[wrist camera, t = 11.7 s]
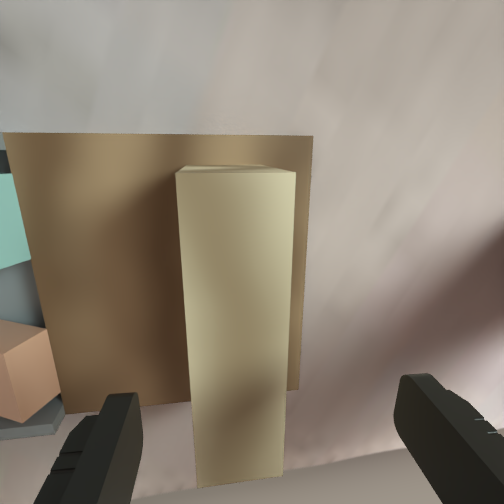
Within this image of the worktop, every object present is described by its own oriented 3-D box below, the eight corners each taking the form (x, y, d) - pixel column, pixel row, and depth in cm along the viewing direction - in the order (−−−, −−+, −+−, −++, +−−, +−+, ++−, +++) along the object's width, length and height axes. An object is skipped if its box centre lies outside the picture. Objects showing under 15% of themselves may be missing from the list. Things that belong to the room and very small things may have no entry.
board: (299, 137, 20) (313, 135, 17) (289, 367, 25) (298, 389, 22) (29, 135, 17) (2, 132, 15) (79, 386, 22) (65, 414, 20)
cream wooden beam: (260, 164, 17) (295, 172, 11) (258, 376, 21) (282, 476, 15) (186, 164, 17) (175, 173, 10) (199, 382, 21) (197, 488, 14)
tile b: (46, 328, 18) (3, 353, 16) (60, 391, 20) (22, 423, 17) (-10, 317, 19) (-57, 339, 17) (7, 377, 21) (-35, 404, 19)
